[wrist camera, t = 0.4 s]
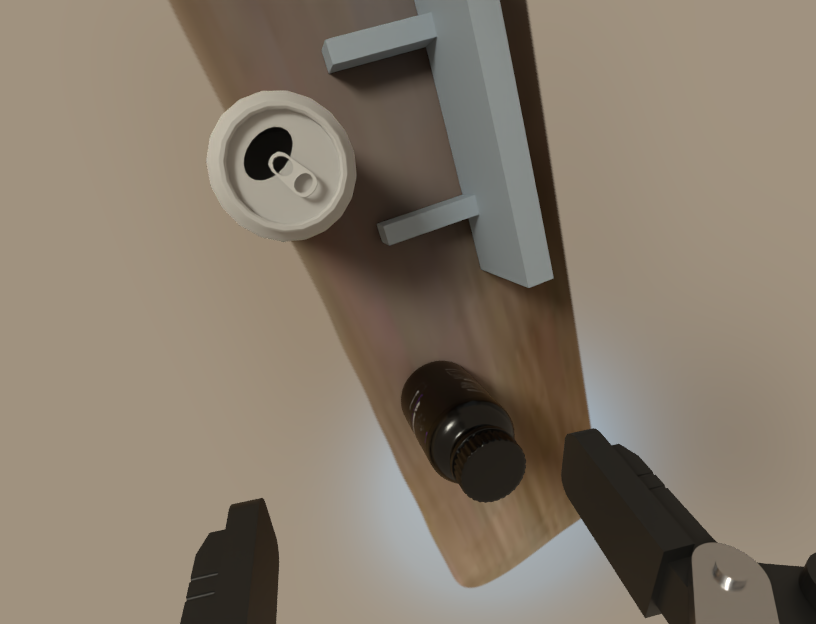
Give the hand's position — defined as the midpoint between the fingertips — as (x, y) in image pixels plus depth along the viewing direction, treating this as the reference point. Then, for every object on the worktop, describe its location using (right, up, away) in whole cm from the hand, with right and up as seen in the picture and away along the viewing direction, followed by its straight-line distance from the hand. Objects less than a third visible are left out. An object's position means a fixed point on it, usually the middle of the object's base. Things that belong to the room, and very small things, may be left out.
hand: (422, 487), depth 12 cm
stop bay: (+1, +18, +23) cm, 30 cm away
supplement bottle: (+2, -3, +29) cm, 30 cm away
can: (-10, +15, +21) cm, 28 cm away
